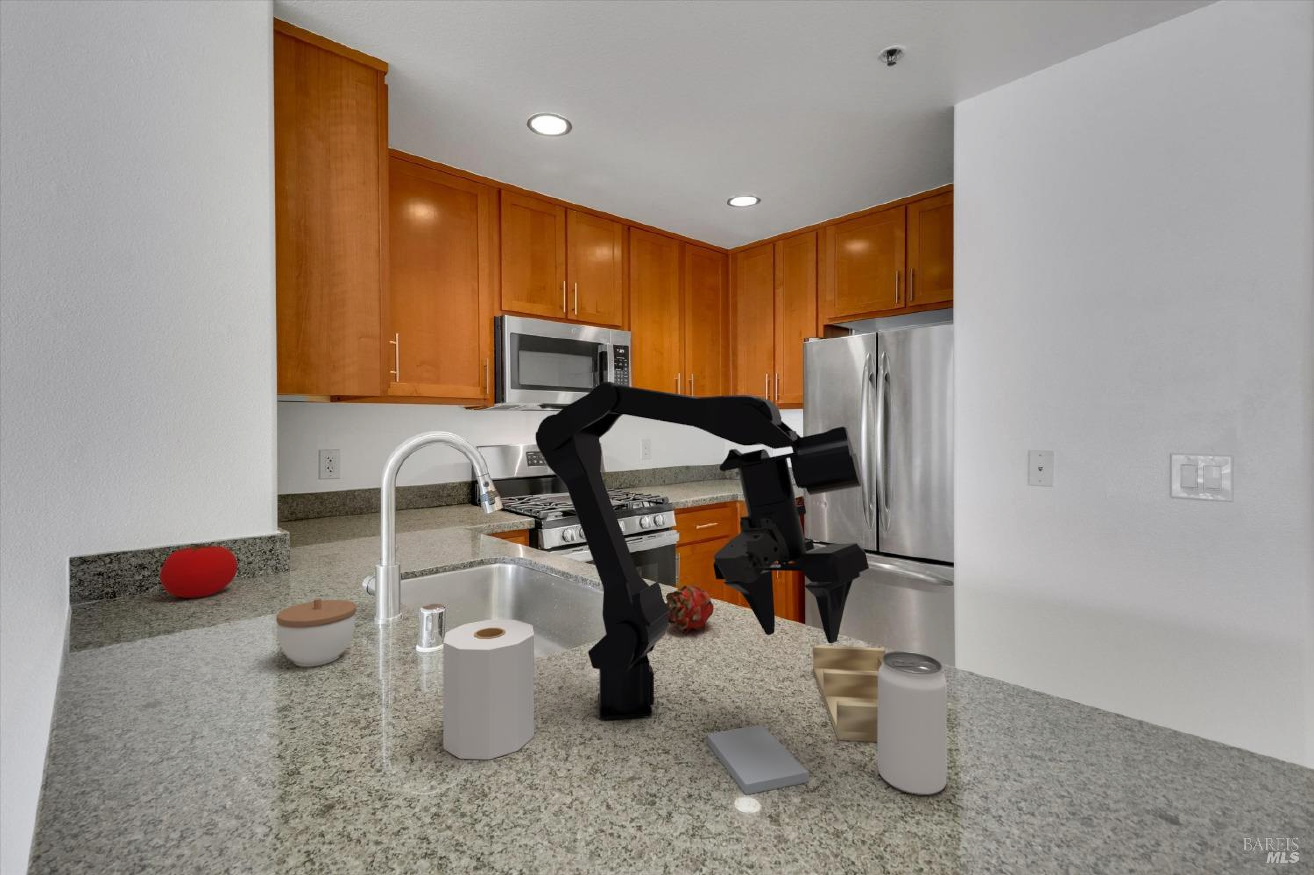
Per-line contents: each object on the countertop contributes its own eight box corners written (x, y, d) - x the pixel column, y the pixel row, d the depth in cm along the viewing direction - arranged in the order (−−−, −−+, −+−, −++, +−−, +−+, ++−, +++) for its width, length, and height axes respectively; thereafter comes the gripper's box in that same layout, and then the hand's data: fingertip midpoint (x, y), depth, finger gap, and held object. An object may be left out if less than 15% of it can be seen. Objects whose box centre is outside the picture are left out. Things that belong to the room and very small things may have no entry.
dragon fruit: (670, 648, 99) (695, 636, 110) (710, 624, 97) (731, 614, 108) (646, 603, 102) (673, 596, 113) (684, 578, 100) (708, 573, 111)
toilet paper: (535, 711, 74) (535, 616, 74) (532, 756, 63) (532, 646, 63) (451, 718, 72) (451, 620, 72) (434, 765, 62) (434, 651, 62)
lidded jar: (259, 666, 88) (259, 604, 87) (324, 642, 97) (324, 586, 97) (310, 678, 84) (309, 612, 83) (372, 652, 93) (371, 593, 93)
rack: (838, 739, 67) (838, 705, 67) (812, 672, 86) (812, 645, 86) (929, 745, 66) (929, 709, 66) (883, 675, 85) (883, 648, 85)
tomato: (145, 602, 120) (145, 549, 120) (204, 585, 133) (204, 537, 133) (194, 605, 118) (194, 551, 118) (249, 588, 131) (249, 539, 131)
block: (745, 794, 57) (745, 784, 57) (706, 742, 66) (706, 733, 66) (808, 781, 59) (808, 772, 59) (761, 733, 68) (761, 724, 68)
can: (954, 801, 56) (955, 676, 56) (883, 793, 57) (883, 671, 57) (936, 764, 62) (937, 652, 62) (872, 757, 63) (873, 647, 63)
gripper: (668, 521, 70) (694, 652, 69) (783, 509, 55) (820, 676, 54) (735, 504, 76) (760, 623, 75) (854, 489, 61) (888, 637, 60)
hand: (799, 638), depth 66 cm, fingers open, 9 cm apart
